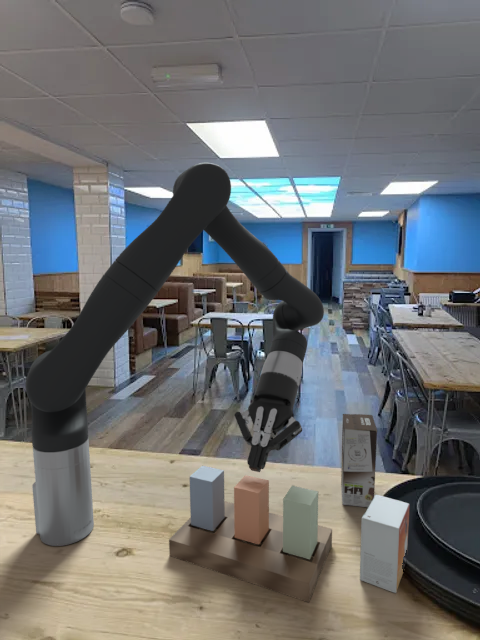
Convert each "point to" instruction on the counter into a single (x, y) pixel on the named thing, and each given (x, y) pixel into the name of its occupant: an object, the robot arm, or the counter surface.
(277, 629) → the counter surface
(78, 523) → the robot arm
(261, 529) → the terracotta block
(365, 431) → the coffee box
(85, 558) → the counter surface
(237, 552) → the walnut board
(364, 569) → the small box
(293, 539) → the sage block
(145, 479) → the counter surface
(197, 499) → the slate block
